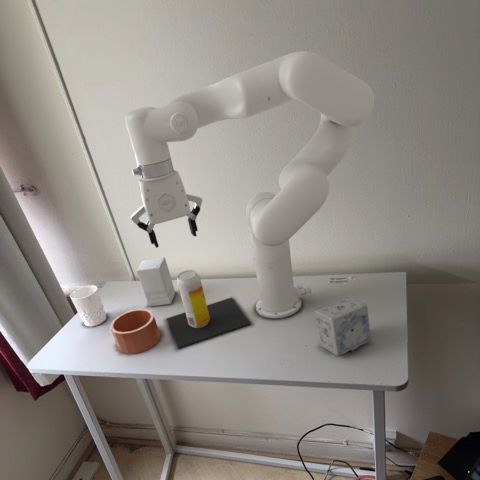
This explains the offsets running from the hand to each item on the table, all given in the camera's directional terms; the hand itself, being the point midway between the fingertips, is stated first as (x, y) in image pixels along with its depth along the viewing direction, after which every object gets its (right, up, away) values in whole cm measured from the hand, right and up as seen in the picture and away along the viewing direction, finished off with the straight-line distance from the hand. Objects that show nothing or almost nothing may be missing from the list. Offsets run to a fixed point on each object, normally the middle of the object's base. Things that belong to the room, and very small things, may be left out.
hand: (175, 240), depth 103 cm
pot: (-12, -25, +11) cm, 30 cm away
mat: (+7, -20, +13) cm, 25 cm away
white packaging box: (-8, -13, +29) cm, 33 cm away
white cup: (-28, -20, +25) cm, 42 cm away
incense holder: (+40, -25, -5) cm, 48 cm away
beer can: (+5, -21, +13) cm, 25 cm away
